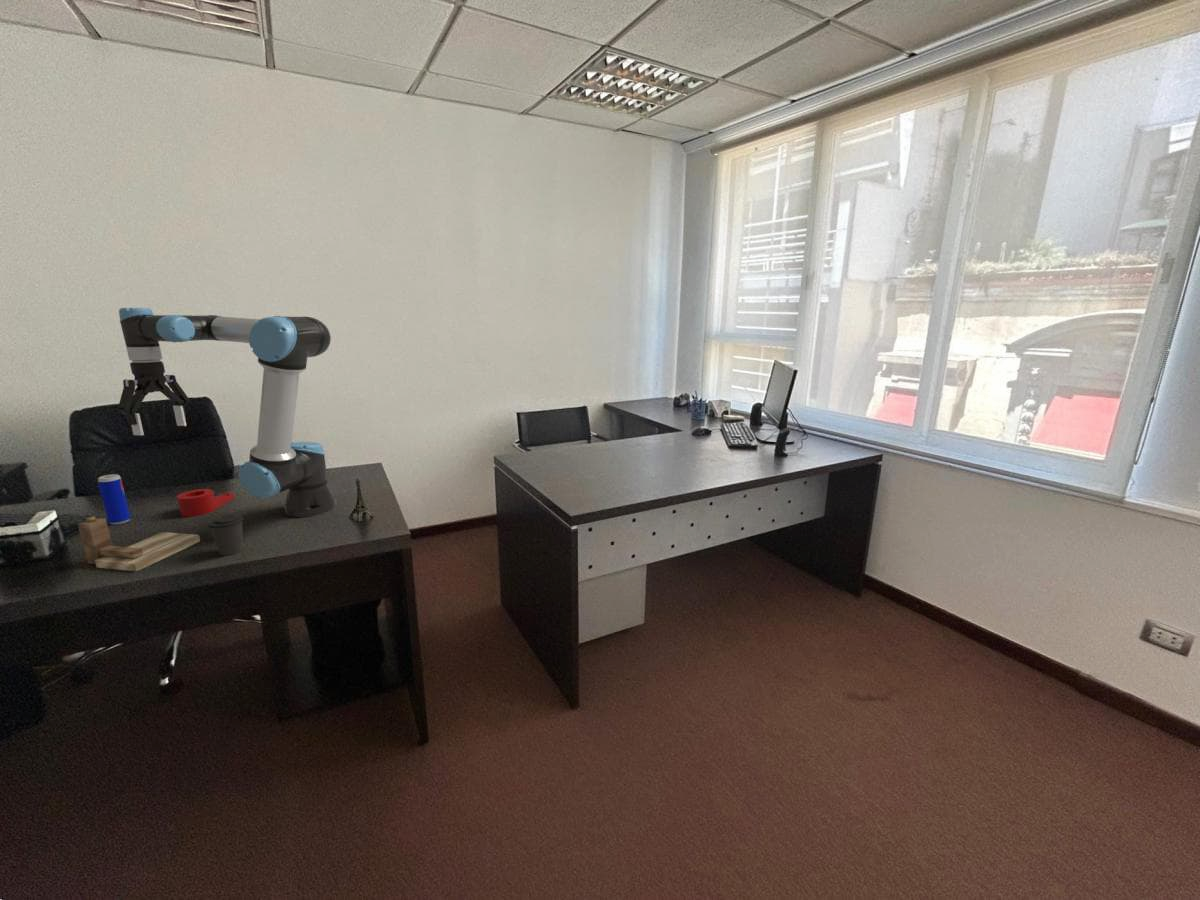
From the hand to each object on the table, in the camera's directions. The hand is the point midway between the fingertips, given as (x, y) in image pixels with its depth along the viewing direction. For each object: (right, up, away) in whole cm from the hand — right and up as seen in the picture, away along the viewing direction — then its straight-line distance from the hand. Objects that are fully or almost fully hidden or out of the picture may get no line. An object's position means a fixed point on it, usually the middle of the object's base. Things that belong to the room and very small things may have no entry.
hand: (161, 430), depth 156 cm
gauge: (+9, -36, -23) cm, 44 cm away
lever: (+4, -26, +15) cm, 30 cm away
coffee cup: (+33, -35, -16) cm, 51 cm away
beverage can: (-15, -29, +3) cm, 33 cm away
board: (+13, -35, -18) cm, 41 cm away
